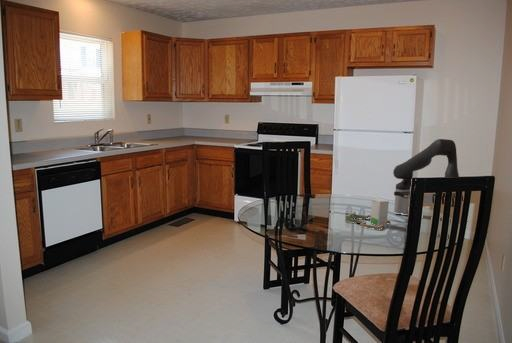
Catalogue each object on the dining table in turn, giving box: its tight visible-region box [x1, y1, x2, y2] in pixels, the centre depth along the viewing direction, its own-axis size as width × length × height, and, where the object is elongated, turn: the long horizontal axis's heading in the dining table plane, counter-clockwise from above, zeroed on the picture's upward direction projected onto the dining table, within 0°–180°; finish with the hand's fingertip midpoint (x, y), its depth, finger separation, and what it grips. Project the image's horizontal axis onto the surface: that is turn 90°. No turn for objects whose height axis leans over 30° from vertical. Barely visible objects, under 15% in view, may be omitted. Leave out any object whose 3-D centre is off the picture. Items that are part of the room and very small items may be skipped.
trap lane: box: [345, 211, 391, 231], centre depth 251 cm, size 24×24×4 cm
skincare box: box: [369, 197, 389, 227], centre depth 246 cm, size 8×7×16 cm
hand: (394, 193), depth 240 cm, fingers closed
